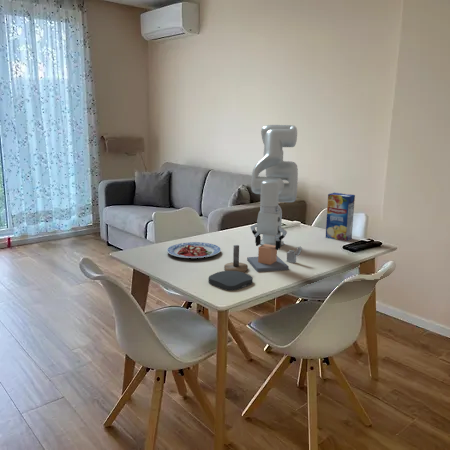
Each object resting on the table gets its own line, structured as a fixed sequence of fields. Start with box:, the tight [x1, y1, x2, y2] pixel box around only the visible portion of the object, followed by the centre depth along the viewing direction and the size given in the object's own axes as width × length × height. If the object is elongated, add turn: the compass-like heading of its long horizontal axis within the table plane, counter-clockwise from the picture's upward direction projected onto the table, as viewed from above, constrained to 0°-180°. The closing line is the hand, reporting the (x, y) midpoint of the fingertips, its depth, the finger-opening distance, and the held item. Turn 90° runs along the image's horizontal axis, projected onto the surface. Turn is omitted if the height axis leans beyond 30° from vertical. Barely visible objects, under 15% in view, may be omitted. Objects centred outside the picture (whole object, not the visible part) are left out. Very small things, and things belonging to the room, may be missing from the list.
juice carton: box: [325, 192, 356, 242], centre depth 244 cm, size 12×8×24 cm, turn 50°
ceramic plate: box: [166, 241, 222, 260], centre depth 217 cm, size 26×26×3 cm
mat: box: [246, 256, 290, 273], centre depth 200 cm, size 16×14×2 cm
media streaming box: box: [208, 270, 254, 291], centre depth 179 cm, size 15×15×3 cm
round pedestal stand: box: [223, 244, 249, 273], centre depth 193 cm, size 10×10×10 cm
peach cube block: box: [257, 244, 278, 265], centre depth 200 cm, size 6×6×7 cm
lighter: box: [286, 246, 303, 264], centre depth 204 cm, size 7×2×8 cm, turn 48°
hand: (267, 247), depth 199 cm, fingers open, 9 cm apart
